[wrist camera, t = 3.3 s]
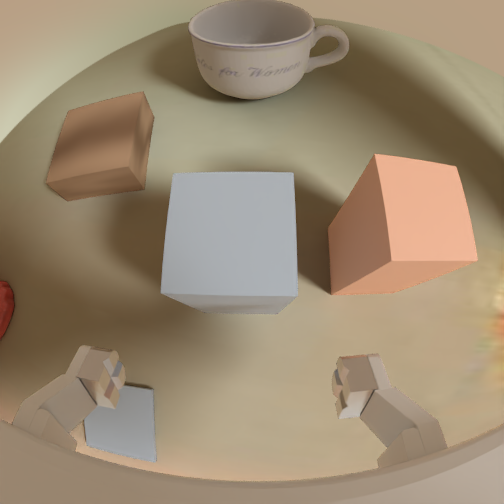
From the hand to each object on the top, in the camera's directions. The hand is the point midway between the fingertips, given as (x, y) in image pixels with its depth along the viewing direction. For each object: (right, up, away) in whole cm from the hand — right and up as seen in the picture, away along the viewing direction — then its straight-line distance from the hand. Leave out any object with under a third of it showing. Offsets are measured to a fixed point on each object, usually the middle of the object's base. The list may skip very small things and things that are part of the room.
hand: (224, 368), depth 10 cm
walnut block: (-12, +13, +14) cm, 23 cm away
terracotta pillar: (+9, +3, +11) cm, 15 cm away
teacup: (+3, +21, +16) cm, 27 cm away
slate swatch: (-9, -8, +8) cm, 15 cm away
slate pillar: (0, +2, +11) cm, 11 cm away
